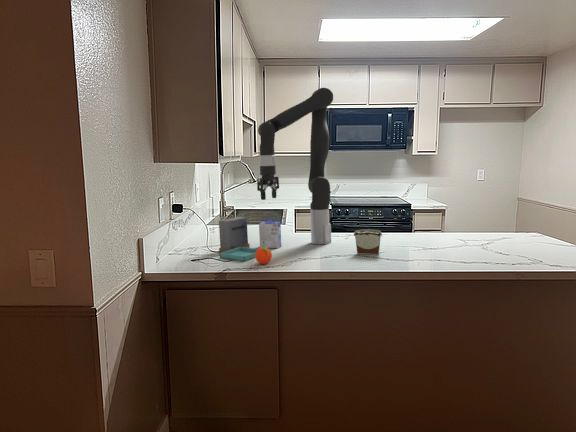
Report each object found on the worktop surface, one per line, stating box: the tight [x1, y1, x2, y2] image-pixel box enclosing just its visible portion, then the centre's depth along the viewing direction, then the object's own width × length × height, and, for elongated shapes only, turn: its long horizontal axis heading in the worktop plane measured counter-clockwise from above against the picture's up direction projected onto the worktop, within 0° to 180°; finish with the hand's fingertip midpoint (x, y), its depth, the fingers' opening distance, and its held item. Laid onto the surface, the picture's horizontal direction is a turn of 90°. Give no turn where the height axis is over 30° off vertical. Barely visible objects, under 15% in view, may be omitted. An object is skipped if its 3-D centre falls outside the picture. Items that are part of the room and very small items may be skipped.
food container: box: [353, 228, 383, 256], centre depth 181 cm, size 12×6×10 cm, turn 71°
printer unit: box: [218, 216, 251, 253], centre depth 195 cm, size 7×14×15 cm, turn 145°
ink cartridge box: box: [258, 216, 282, 249], centre depth 199 cm, size 10×6×14 cm, turn 78°
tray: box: [219, 247, 259, 262], centre depth 183 cm, size 14×14×2 cm
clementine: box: [254, 247, 273, 265], centre depth 168 cm, size 8×7×7 cm
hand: (268, 198), depth 196 cm, fingers open, 8 cm apart
